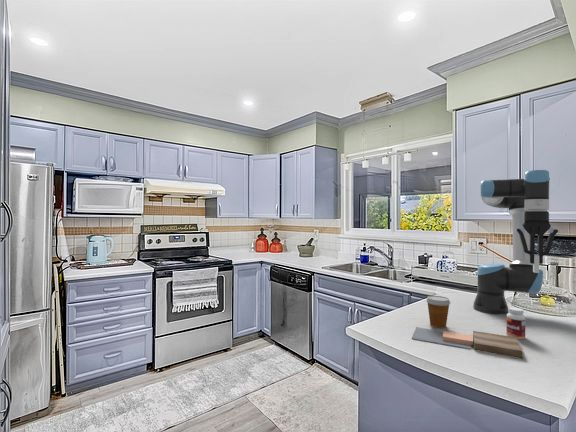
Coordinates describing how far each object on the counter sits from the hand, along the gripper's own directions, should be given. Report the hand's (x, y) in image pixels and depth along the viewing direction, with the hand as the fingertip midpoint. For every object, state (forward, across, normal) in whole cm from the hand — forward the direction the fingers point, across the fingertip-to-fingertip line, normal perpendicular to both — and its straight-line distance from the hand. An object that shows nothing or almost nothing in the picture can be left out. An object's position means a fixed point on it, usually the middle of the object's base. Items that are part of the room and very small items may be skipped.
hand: (536, 272), depth 123 cm
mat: (+26, -32, -14) cm, 44 cm away
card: (+26, -26, -14) cm, 40 cm away
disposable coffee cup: (+27, -34, +1) cm, 43 cm away
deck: (+26, -14, -14) cm, 33 cm away
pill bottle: (+27, -6, +2) cm, 27 cm away
